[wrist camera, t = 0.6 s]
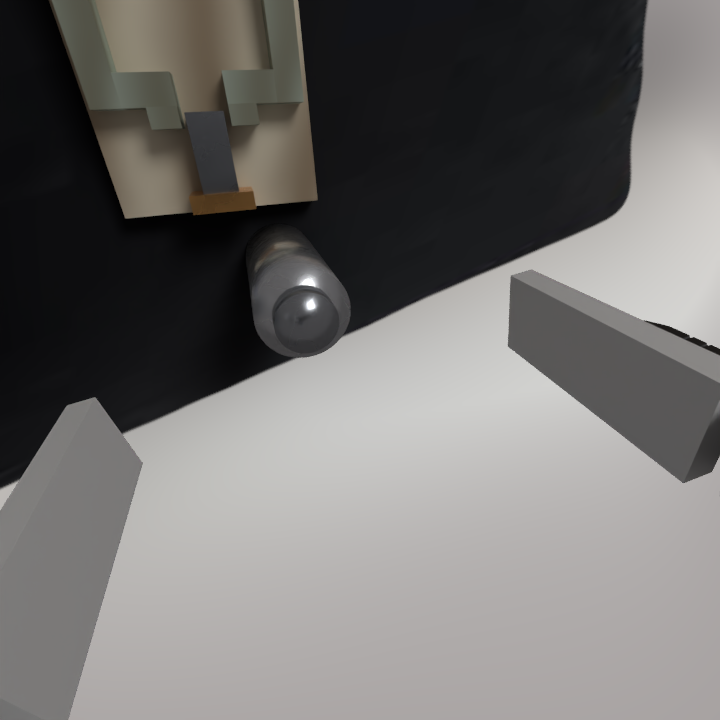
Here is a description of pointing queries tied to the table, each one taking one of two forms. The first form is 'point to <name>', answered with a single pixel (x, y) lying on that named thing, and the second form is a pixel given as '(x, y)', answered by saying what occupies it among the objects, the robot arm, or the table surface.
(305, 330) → the metal bottle
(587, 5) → the table surface
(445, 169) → the table surface
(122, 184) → the dock mount
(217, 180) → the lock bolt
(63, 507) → the robot arm
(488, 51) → the table surface
